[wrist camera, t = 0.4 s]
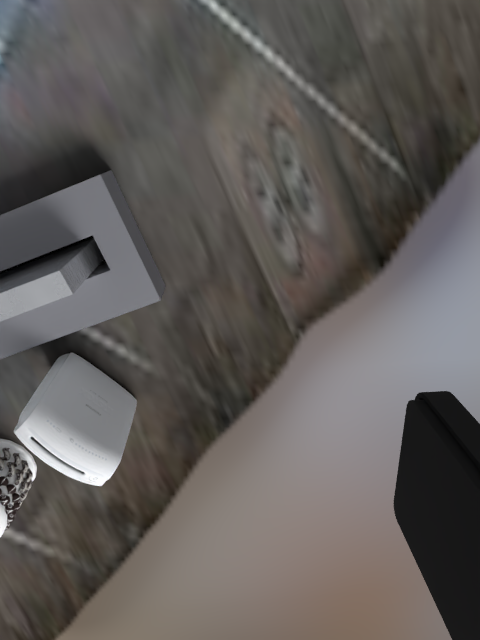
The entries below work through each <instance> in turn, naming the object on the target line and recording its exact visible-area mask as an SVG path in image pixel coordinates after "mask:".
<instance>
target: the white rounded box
mask: <svg viewBox="0 0 480 640" xmlns="http://www.w3.org/2000/svg"><path fill="white" fill-rule="evenodd" d="M136 405H137V400H136V399H135V398H134V397H133V396H132V395H131V394H130V393H129V392H128V391H126V390H125V389H124V388H123V387H121V386H120V385H119V384H118V383H116V382H115V381H114V380H112V379H111V378H110V377H108V376H107V375H106V374H104V373H103V372H102V371H100V370H99V369H97V368H96V367H94V366H93V365H92V364H90V363H89V362H87V361H86V360H85V359H83V358H82V357H80V356H78V355H76V354H74V353H70V354H69V353H68V354H64V355H62V356H60V357H59V358H58V359H57V360H56V361H55V363H54V364H53V366H52V367H51V369H50V370H49V372H48V373H47V375H46V376H45V378H44V379H43V381H42V382H41V384H40V385H39V387H38V388H37V390H36V391H35V393H34V394H33V396H32V397H31V399H30V400H29V402H28V403H27V405H26V406H25V408H24V409H23V411H22V413H21V415H20V417H19V422H18V424H17V425H16V427H15V429H14V433H15V434H16V436H17V437H18V438H19V439H20V441H21V442H22V443H23V444H24V445H25V446H26V447H27V448H28V449H29V450H30V451H31V452H33V453H34V454H35V455H36V456H37V457H39V458H40V459H41V460H42V461H44V462H45V463H47V464H48V465H50V466H51V467H53V468H54V469H56V470H58V471H59V472H61V473H63V474H65V475H67V476H69V477H71V478H73V479H76V480H78V481H81V482H84V483H87V484H91V485H96V486H102V485H103V483H104V482H105V481H106V480H108V479H110V477H111V476H112V475H113V473H114V472H115V470H116V468H117V467H118V465H119V463H120V461H121V458H122V455H123V451H124V448H125V444H126V441H127V437H128V434H129V430H130V427H131V423H132V420H133V416H134V413H135V409H136Z"/></svg>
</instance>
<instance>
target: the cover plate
mask: <svg viewBox="0 0 480 640" xmlns="http://www.w3.org/2000/svg"><path fill="white" fill-rule="evenodd" d="M103 259H104V257H103V255H102V253H101V251H100V249H99V247H98V245H97V243H96V241H95V239H94V238H92V239H89V240H87V241H84V242H81V243H79V244H76V245H74V246H71V247H69V248H66V249H63V250H61V251H58V252H56V253H53V254H51V255H48V256H46V257H43V258H40V259H38V260H35V261H33V262H30V263H28V264H25V265H22V266H20V267H17V268H15V269H12V270H10V271H7V272H4V273H2V274H0V322H1V321H3V320H6V319H8V318H11V317H14V316H16V315H19V314H22V313H24V312H27V311H30V310H32V309H35V308H38V307H40V306H43V305H46V304H48V303H51V302H54V301H56V300H59V299H62V298H64V297H67V296H70V295H72V294H74V292H75V291H76V290H77V289H78V288H79V287H80V286H81V285H82V283H83V282H84V281H85V280H86V279H87V278H88V277H89V275H90V274H91V273H92V272H93V271H94V270H95V269H96V267H97V266H98V265H99V264H100V263H101V262H102V261H103Z"/></svg>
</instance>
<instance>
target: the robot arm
mask: <svg viewBox="0 0 480 640" xmlns="http://www.w3.org/2000/svg"><path fill="white" fill-rule="evenodd" d="M394 511H395V516H396V519H397V522H398V524H399V526H400V528H401V530H402V532H403V535H404V537H405V539H406V541H407V543H408V545H409V547H410V549H411V552H412V554H413V556H414V558H415V560H416V563H417V565H418V567H419V569H420V571H421V573H422V575H423V578H424V580H425V582H426V584H427V586H428V588H429V591H430V593H431V595H432V597H433V599H434V601H435V603H436V606H437V608H438V610H439V612H440V614H441V616H442V618H443V621H444V623H445V625H446V627H447V629H448V631H449V633H450V636H451V638H452V640H480V424H479V423H478V422H477V421H476V419H475V418H474V417H473V416H472V415H471V414H470V413H469V412H468V411H467V410H466V408H465V407H464V406H463V405H462V404H461V403H460V402H459V401H458V400H457V399H456V397H455V396H454V395H453V394H451V393H450V392H447V391H440V392H422V393H419V394H417V396H416V398H415V400H411V401H409V402H408V404H407V408H406V415H405V423H404V430H403V437H402V445H401V452H400V459H399V467H398V474H397V482H396V489H395V496H394Z"/></svg>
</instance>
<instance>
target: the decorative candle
mask: <svg viewBox="0 0 480 640" xmlns="http://www.w3.org/2000/svg"><path fill="white" fill-rule="evenodd" d="M36 470H37V465H36V463H35V461H34V458H33V456H32V455H31V454H30V453H29V452H28V451H27V450H26V449H25V448H24V447H23V446H21V445H19V444H17V443H15V442H13V441H11V440H6V439H0V537H1V536H2V534H3V532H4V531H5V530H7V529H8V528H9V526H10V523H11V522H13V520H14V516H15V514H16V512H15V511H18V510H19V509H20V505H21V504H22V502H23V500H24V499H25V498H26V496H27V492H28V489H30V488H31V486H32V481H33V480H34V479H35V477H36Z"/></svg>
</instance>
